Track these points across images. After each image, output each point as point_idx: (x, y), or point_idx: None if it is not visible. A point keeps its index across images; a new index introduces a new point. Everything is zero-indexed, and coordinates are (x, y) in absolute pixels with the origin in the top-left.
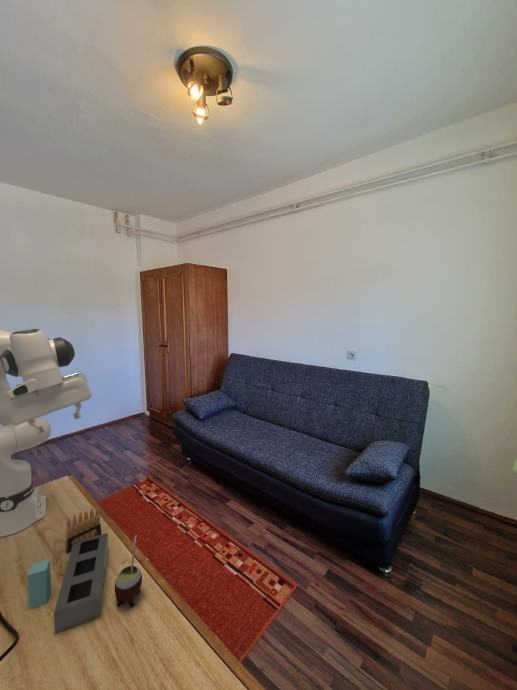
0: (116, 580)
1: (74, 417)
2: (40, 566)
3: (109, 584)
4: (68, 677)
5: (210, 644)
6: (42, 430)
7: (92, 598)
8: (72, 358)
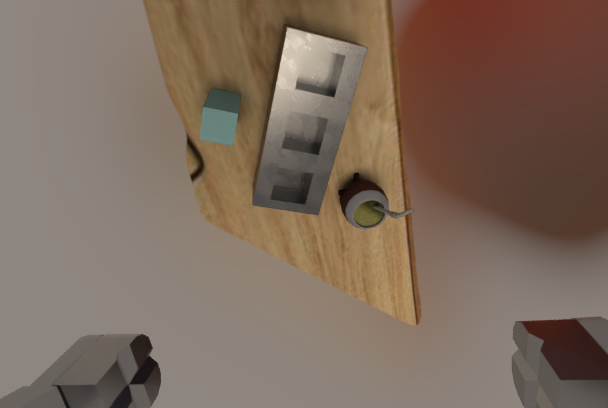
0: (348, 210)
1: (525, 363)
2: (221, 128)
3: None
4: (270, 247)
5: (414, 291)
6: (140, 403)
7: (308, 212)
8: None
